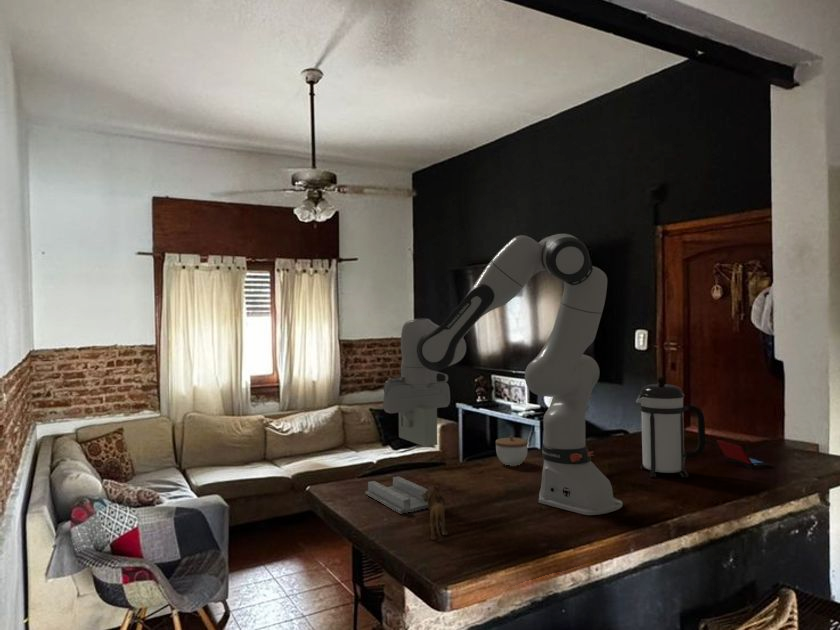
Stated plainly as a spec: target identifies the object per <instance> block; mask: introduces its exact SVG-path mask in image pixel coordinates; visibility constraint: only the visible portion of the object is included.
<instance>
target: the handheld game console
mask: <svg viewBox="0 0 840 630" xmlns="http://www.w3.org/2000/svg"><path fill="white" fill-rule="evenodd" d="M716 442H717V444H718V446H719V448H720V450H721V451H722V452H723V455H724V456H725V460H726V459H728V460H731V461H733V462H732V463H734V462H737V463H736V464H738V463H740V464H742V465H744V466H743V467H745V466H746V467H745V468H748V467H749V468H748V469H751V468H755V469H768V468H767V467H770V468H771V467H772V464H771V463H767V462H765V461H762V460H760V459H756V458H753V457H750V456H749V455H748V453H747V452H746V450H745V449H744V448H743V446H742V445H741V446H740V445H738V444H735V443H731V442H728V441H724V440H721V439H717V440H716ZM728 460H727V461H728ZM731 461H730V462H731ZM740 464H739V465H740ZM742 465H741V466H742Z"/></svg>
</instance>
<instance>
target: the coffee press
mask: <svg viewBox="0 0 840 630" xmlns="http://www.w3.org/2000/svg"><path fill="white" fill-rule="evenodd" d="M657 382H658V383H655V384H654V383H651V384H647V385H645V386H643V387H642V388H641V391H640V392H639V395H638V396H637V398H636V400H635V403H637V404H640V405H639V406H640V407H639V408H640V411H641V446H642V448H641V450H642V451H641V453H642V457H641V458H642V463H640V465H639V469H640V470H642V468H644V470H645V469H647V470H649V478H652V477H654V476H655V478H656V477H657V474H659V473H664V474H665V473H666V474H674V473H677V474H678V475H680V476H681V477H682V478H683V477H684V476H685V478H688V477H689V473H688V472H687V470H686V468H685V460H686V458H687V459H688V458H696V457H698V456H700V455H702V453H703V452H704V450H705V446H706V426H705V415H704V414H703V412H702V410H701V409H700V408H698V407H696V406H694V405H690V404H687V405H684V397H685V393H683V390H682V388H680V386H677V385H673V384H667V383H666V384H665V382H666V378H665V377H664V376H659V377H658V378H657ZM685 411H688V412H692V413H694V414H695V416H696V418H697V434H698V435H697V437H698V438H697V441H698V442H697V447H696V448H695V450H692V451H685V437H684V436H685V429H684V426H685V425H684V413H685ZM682 471H683V473H682ZM684 474H685V475H684ZM685 478H684V479H685Z"/></svg>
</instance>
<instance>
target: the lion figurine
mask: <svg viewBox="0 0 840 630" xmlns="http://www.w3.org/2000/svg"><path fill="white" fill-rule="evenodd" d="M427 489H428V490H427V491H426V492H425V493H424V494H422V495H421V496H422V499H423V500H424V502H428V505H429V508H428V509H429V524H428V527H430V533H431V536H429V537H430V540H435V539H436V534H435V532H437V535H438V537H439V540H440V541H444V540H445V539H444V537H443V536H447V535H448V532H447V531H446V528H445V527H446V518H445V515H446V514H445V509H446V507H445V506H446V499H445V497H444V496H443V493H442V492H441V490H440V489H439V488H438V486H436V485H428V486H427ZM439 525H440V526H441V532H440V528H439ZM435 529H436V531H435ZM441 533H442V534H441ZM442 535H443V536H442Z"/></svg>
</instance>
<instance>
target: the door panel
mask: <svg viewBox="0 0 840 630" xmlns="http://www.w3.org/2000/svg"><path fill="white" fill-rule="evenodd" d="M408 417H409V419H410V420H411V421H413V427H409V428H407V427H406V426H405V420H404V418H403V417H402V415H401V412H399V413H398V438H400V439H403V440H406V441H409V442H411V443H413V444H416V445H419V446H422V447H425V448H426V447H432V446H437V445H438V408H435V407H431V406H427V405H426V406H417V407H415V409H414V411H409V415H408Z"/></svg>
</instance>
